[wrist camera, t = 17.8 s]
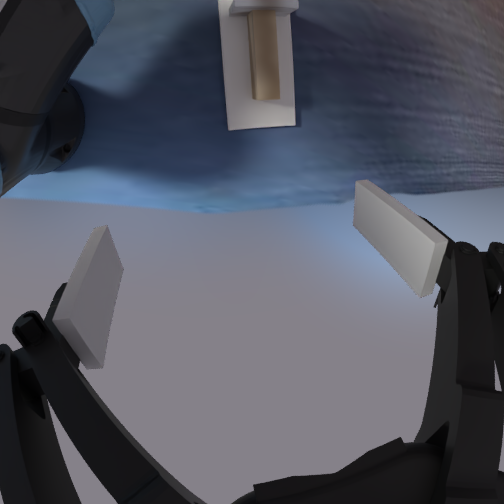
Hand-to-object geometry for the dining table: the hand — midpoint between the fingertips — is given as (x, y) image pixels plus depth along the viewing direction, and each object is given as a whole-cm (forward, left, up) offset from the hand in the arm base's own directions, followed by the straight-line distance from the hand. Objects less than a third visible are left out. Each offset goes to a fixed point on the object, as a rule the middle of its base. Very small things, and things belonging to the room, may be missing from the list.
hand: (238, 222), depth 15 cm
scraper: (+8, +11, -30) cm, 33 cm away
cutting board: (+8, +12, -31) cm, 34 cm away
